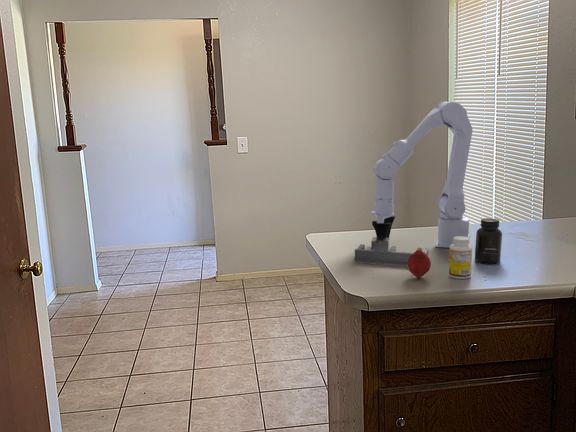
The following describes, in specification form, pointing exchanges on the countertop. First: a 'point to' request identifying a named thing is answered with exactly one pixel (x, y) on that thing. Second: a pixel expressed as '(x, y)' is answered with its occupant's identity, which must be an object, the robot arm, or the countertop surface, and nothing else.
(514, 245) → the countertop surface
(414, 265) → the onion
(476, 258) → the supplement bottle
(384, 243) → the block
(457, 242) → the supplement bottle
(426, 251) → the bracket
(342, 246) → the countertop surface
